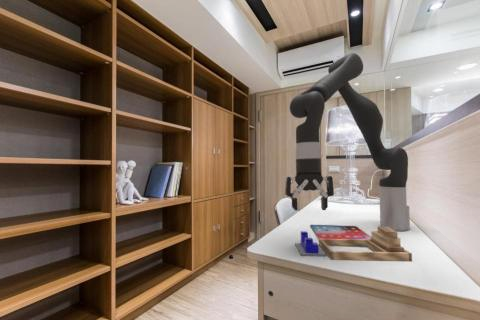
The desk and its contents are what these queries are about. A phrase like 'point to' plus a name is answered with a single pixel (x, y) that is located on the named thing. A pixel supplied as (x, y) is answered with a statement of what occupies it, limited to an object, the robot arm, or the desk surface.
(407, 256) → the rack
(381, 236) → the offcut stack
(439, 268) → the desk surface
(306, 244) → the cable holder
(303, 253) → the felt pad
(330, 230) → the tablet
